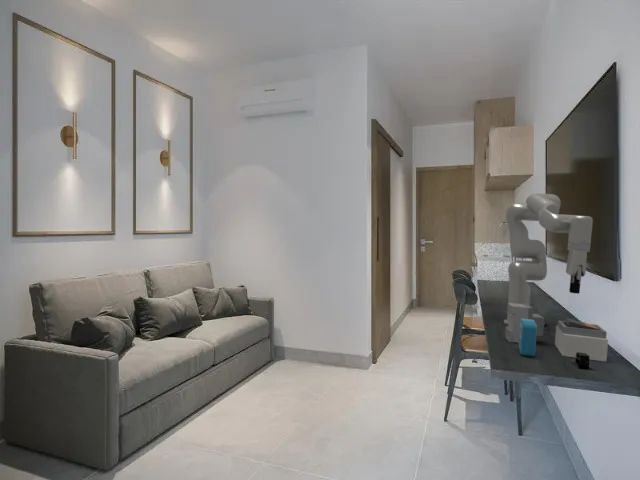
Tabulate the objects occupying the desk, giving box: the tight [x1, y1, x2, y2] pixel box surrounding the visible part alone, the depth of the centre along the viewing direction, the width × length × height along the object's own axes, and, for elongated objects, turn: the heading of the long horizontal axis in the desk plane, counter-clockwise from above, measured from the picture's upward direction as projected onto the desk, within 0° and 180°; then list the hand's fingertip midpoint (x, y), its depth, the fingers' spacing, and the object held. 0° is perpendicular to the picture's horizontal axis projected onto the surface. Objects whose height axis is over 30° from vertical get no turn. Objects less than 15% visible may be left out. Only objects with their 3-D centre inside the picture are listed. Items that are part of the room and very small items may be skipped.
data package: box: [518, 318, 537, 358], centre depth 158 cm, size 12×4×12 cm, turn 158°
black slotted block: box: [568, 352, 597, 372], centre depth 146 cm, size 12×7×5 cm, turn 166°
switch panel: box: [554, 320, 609, 362], centre depth 161 cm, size 16×14×10 cm
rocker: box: [564, 317, 599, 330], centre depth 161 cm, size 7×10×2 cm
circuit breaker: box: [504, 303, 548, 344], centre depth 174 cm, size 8×14×15 cm, turn 78°
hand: (574, 292), depth 165 cm, fingers closed
